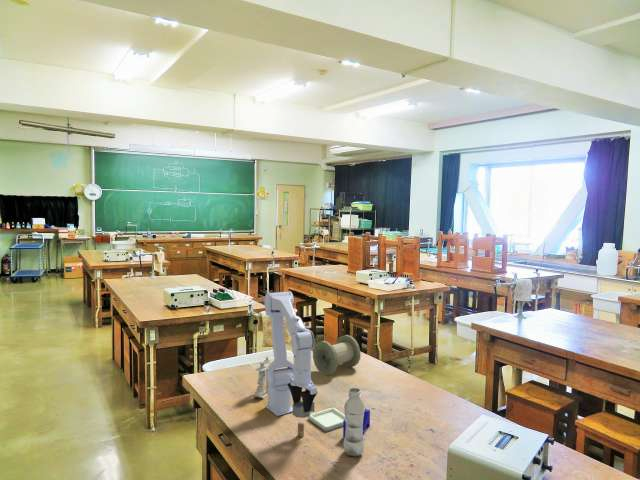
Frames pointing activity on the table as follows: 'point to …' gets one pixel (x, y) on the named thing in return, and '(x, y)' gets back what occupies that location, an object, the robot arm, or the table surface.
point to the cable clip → (365, 422)
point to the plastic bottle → (354, 423)
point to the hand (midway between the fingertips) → (301, 407)
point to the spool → (336, 354)
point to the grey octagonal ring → (301, 410)
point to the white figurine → (262, 380)
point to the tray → (328, 419)
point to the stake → (300, 429)
